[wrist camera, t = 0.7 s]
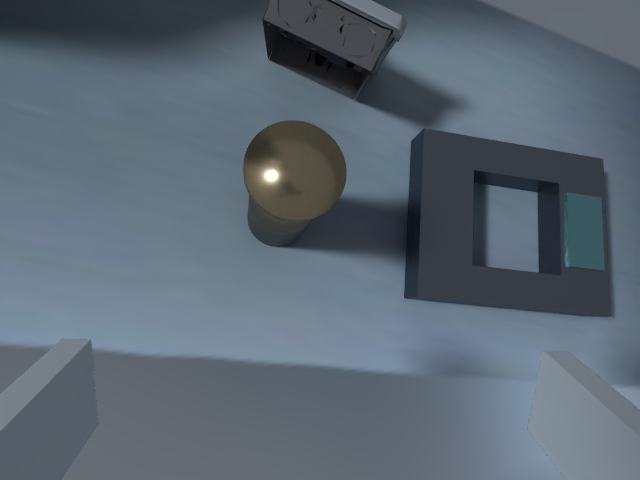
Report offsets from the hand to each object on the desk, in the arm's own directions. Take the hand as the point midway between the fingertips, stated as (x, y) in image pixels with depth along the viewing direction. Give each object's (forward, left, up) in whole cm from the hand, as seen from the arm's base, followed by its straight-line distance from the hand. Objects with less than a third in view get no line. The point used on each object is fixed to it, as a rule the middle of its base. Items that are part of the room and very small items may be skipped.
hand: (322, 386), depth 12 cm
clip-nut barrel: (-7, +6, -18) cm, 21 cm away
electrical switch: (-14, +17, -19) cm, 29 cm away
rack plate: (+5, +20, -18) cm, 28 cm away
